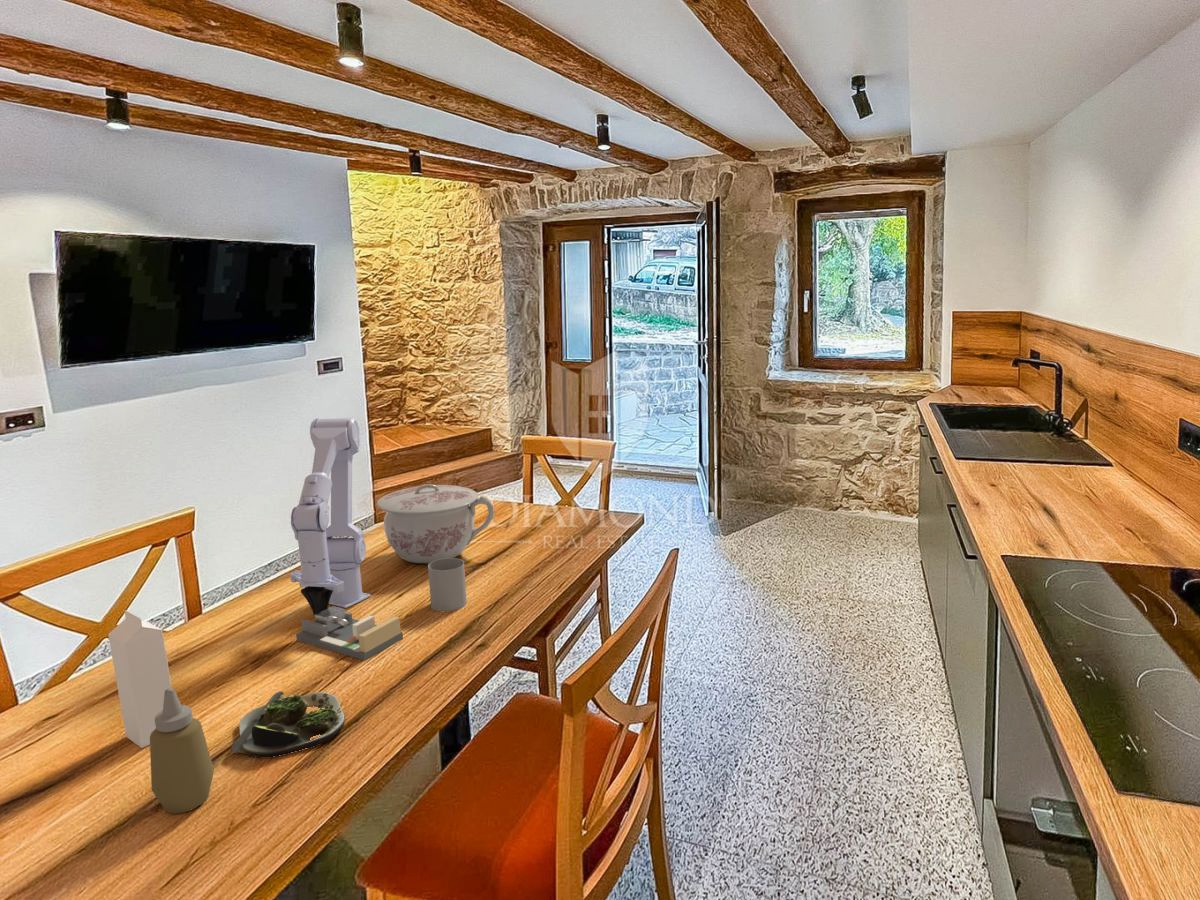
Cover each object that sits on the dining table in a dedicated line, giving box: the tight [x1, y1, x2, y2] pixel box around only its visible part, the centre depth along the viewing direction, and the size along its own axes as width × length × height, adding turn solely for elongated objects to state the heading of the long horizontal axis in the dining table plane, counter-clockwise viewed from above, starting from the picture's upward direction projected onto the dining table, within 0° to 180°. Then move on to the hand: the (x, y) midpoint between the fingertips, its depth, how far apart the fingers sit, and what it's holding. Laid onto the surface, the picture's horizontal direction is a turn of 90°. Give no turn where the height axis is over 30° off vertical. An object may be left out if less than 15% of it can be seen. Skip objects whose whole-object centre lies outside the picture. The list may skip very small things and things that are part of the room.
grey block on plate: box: [314, 605, 349, 633], centre depth 164 cm, size 6×5×4 cm
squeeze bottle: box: [149, 688, 215, 814], centre depth 110 cm, size 8×8×18 cm
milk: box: [108, 610, 172, 749], centre depth 127 cm, size 6×6×22 cm
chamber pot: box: [376, 483, 495, 565], centre depth 211 cm, size 28×28×21 cm
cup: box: [427, 557, 468, 612], centre depth 179 cm, size 8×8×10 cm
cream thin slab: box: [347, 615, 376, 643], centre depth 159 cm, size 1×7×3 cm, turn 151°
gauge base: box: [295, 606, 404, 662], centre depth 163 cm, size 20×11×5 cm, turn 61°
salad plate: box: [230, 691, 346, 758], centre depth 131 cm, size 19×18×5 cm
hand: (320, 617), depth 166 cm, fingers closed
